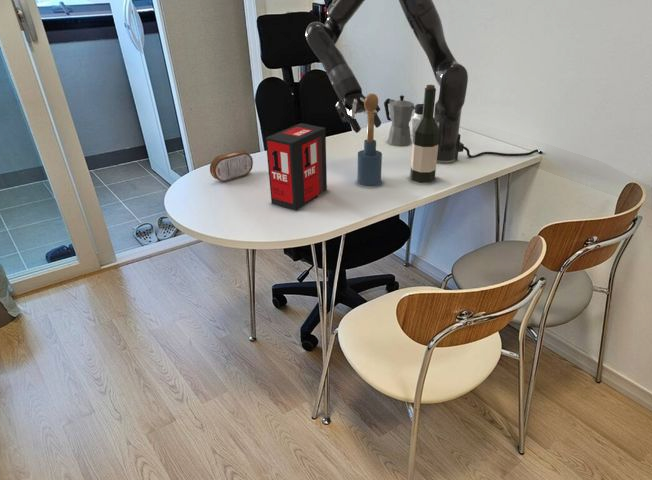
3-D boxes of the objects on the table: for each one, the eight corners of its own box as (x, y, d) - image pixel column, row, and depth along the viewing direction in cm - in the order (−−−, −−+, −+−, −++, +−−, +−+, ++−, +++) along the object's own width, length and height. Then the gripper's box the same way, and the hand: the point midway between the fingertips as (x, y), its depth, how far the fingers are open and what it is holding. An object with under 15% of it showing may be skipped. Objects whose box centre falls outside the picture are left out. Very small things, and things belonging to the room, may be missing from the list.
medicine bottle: (428, 137, 203) (431, 107, 196) (410, 135, 204) (413, 106, 197) (429, 132, 208) (432, 102, 202) (412, 130, 209) (414, 101, 203)
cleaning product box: (295, 210, 144) (291, 143, 133) (271, 203, 148) (265, 137, 137) (326, 191, 156) (325, 127, 145) (303, 185, 160) (300, 123, 148)
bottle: (376, 177, 166) (377, 136, 158) (383, 186, 160) (385, 143, 152) (354, 180, 164) (355, 138, 156) (361, 188, 158) (362, 145, 150)
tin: (250, 171, 169) (247, 146, 164) (255, 173, 167) (253, 149, 163) (211, 182, 160) (207, 157, 156) (216, 185, 158) (212, 160, 154)
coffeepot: (419, 143, 195) (423, 96, 185) (403, 149, 190) (407, 100, 180) (391, 134, 204) (393, 89, 194) (375, 139, 199) (376, 93, 189)
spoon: (361, 182, 161) (362, 94, 145) (372, 178, 164) (375, 91, 148) (365, 184, 159) (367, 95, 144) (376, 180, 162) (380, 93, 147)
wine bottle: (418, 186, 160) (426, 89, 143) (404, 177, 166) (411, 83, 149) (439, 182, 163) (450, 87, 147) (425, 173, 169) (434, 81, 153)
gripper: (332, 78, 146) (357, 126, 145) (367, 72, 154) (391, 117, 153) (321, 93, 152) (345, 139, 151) (356, 87, 160) (379, 130, 160)
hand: (369, 128), depth 152 cm, fingers open, 8 cm apart
